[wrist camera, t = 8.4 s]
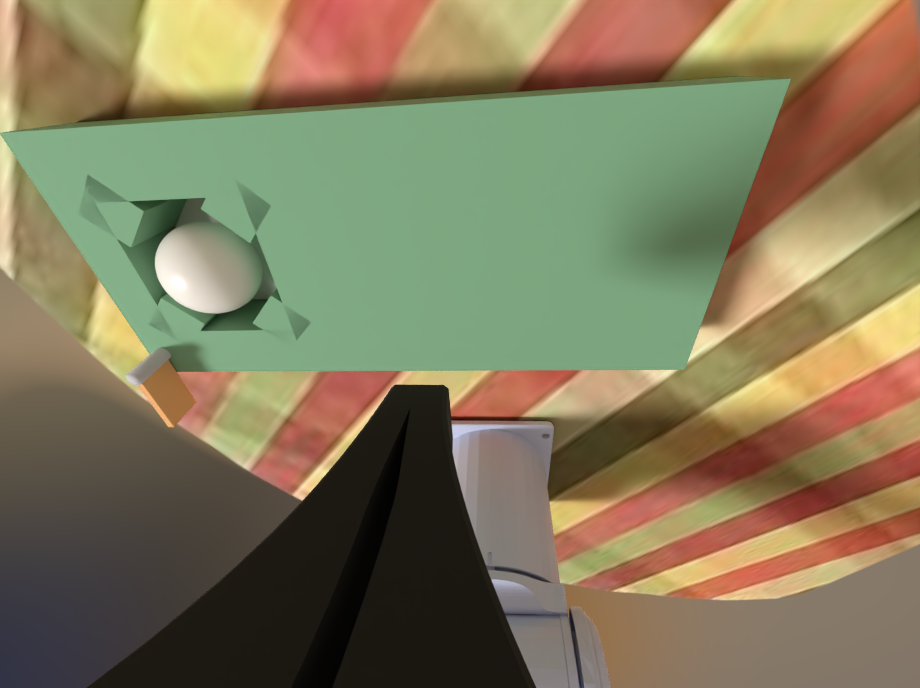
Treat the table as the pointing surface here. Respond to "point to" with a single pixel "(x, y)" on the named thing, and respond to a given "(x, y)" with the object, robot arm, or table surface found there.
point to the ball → (208, 267)
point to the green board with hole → (422, 226)
